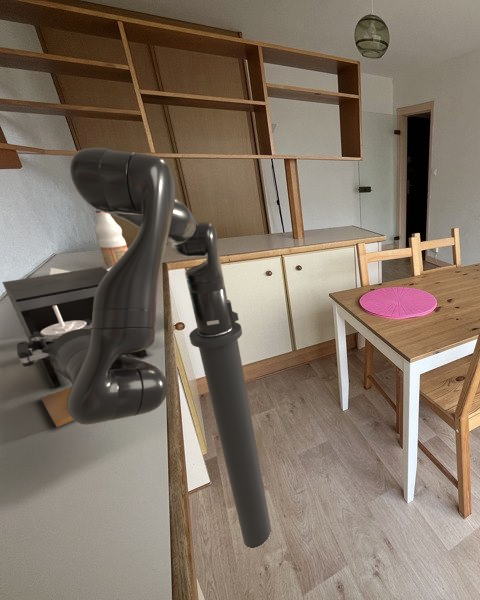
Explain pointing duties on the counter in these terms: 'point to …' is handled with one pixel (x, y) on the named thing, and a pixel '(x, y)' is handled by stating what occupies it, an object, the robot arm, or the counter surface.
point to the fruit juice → (110, 238)
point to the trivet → (58, 407)
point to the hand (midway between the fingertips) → (63, 329)
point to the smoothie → (62, 326)
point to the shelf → (55, 303)
